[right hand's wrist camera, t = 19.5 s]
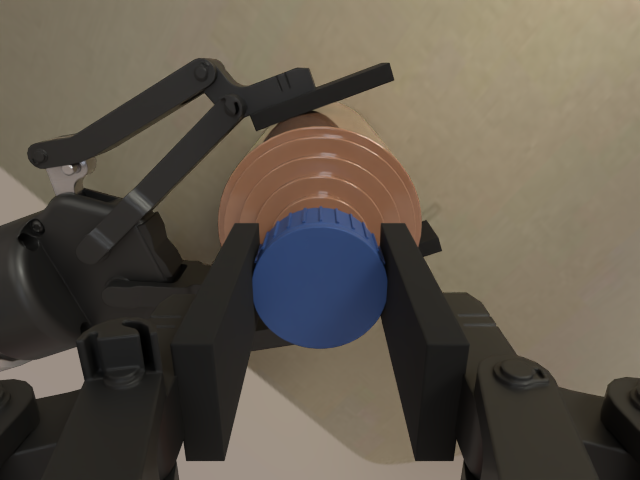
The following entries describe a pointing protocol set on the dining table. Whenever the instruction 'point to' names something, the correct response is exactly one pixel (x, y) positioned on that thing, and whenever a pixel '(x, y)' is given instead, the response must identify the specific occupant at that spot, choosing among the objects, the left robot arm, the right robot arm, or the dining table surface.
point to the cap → (319, 278)
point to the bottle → (320, 175)
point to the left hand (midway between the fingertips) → (411, 158)
